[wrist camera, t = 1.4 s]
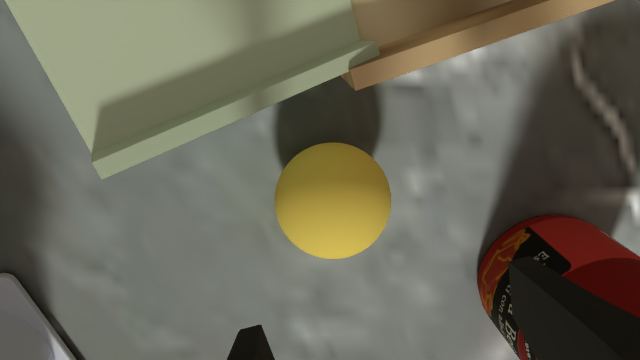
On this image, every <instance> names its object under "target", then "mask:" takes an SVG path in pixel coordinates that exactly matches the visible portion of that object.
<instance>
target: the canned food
mask: <svg viewBox="0 0 640 360" xmlns="http://www.w3.org/2000/svg"><path fill="white" fill-rule="evenodd" d="M528 256H530V257H532V258H534V259H535V260H537V261H539V262H540V263H542V264H544V265H545V266H547V267H549V268H550V269H552V270H553V271H555V272H557V273H558V274H560V275H562V276H563V277H565V278H567V279H569V280H570V281H572V282H574V283H575V284H577V285H579V286H580V287H582V288H584V289H586V290H588V291H589V292H591V293H593V294H595V295H596V296H598V297H600V298H602V299H604V300H606V301H608V302H609V303H611V304H613V305H615V306H617V307H619V308H621V309H623V310H625V311H627V312H629V313H631V314H633V315H635V316H637V317H639V318H640V257H639V256H638V255H636V254H635V253H633V252H632V251H630V250H629V249H628V248H626V247H625V246H623V245H622V244H620V243H619V242H617V241H616V240H615V239H613V238H612V237H610V236H609V235H607V234H606V233H604V232H603V231H602V230H600V229H599V228H597V227H596V226H594V225H592V224H590V223H588V222H586V221H584V220H580V219H577V218H573V217H569V216H564V215H544V216H538V217H534V218H531V219H529V220H526V221H523V222H521V223H519V224H518V225H516V226H514V227H512V228H511V229H509V230H508V231H507V232H505V233H504V234H503V235H501V236H500V237H499V238H498V239H497V240H496V241H495V242H494V244H493V245H492V246H491V247H490V249H489V250H488V252H487V253H486V255H485V257H484V259H483V261H482V263H481V265H480V269H479V273H478V289H479V294H480V297H481V301H482V305H483V307H484V309H485V311H486V313H487V315H488V316H489V317H490V319H491V320H492V322H493V323H494V324H495V326H496V327H497V328H498V330H499V331H500V333H501V334H502V335H503V337H504V338H505V339H506V341H507V342H508V343H509V345H510V346H511V348H512V349H513V350H514V352H515V353H516V354H517V356H518V357H519V359H520V360H537V358H536V357H535V355H534V354H533V352H532V351H531V349H530V348H529V346H528V344H527V342H526V341H525V339H524V337H523V335H522V333H521V332H520V330H519V328H518V326H517V324H516V322H515V320H514V318H513V316H512V305H511V291H510V278H509V264H508V261H512V260H516V259H520V258H524V257H528Z"/></svg>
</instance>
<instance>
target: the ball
mask: <svg viewBox="0 0 640 360" xmlns="http://www.w3.org/2000/svg"><path fill="white" fill-rule="evenodd" d="M390 208H391V193H390V188H389V184H388V181H387V178H386V176H385V174H384V172H383V170H382V169H381V167H380V166H379V165H378V163H377V162H376V161H375V160H374V159H373V158H372V157H371V156H370V155H368V154H367V153H366V152H364V151H362V150H360V149H359V148H357V147H354V146H351V145H348V144H344V143H336V142H333V143H322V144H317V145H314V146H311V147H309V148H307V149H305V150H303V151H302V152H300V153H299V154H297V155H296V156H295V157H294V158H293V159H292V160H291V161H290V162H289V163H288V164H287V165H286V167H285V168H284V170H283V171H282V173H281V175H280V177H279V180H278V183H277V186H276V191H275V210H276V215H277V218H278V221H279V224H280V226H281V228H282V230H283V231H284V233H285V234H286V236H287V237H288V238H289V239H290V240H291V242H292V243H294V244H295V245H296V246H297V247H298V248H300V249H301V250H303V251H305V252H306V253H309V254H311V255H313V256H317V257H320V258H326V259H339V258H345V257H349V256H353V255H355V254H357V253H359V252H361V251H363V250H365V249H366V248H367V247H369V246H370V245H371V244H372V243H373V242H374V241H375V240H376V239H377V238H378V237H379V236H380V234H381V233H382V231H383V229H384V227H385V226H386V223H387V220H388V218H389V214H390Z"/></svg>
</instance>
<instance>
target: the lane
mask: <svg viewBox="0 0 640 360" xmlns="http://www.w3.org/2000/svg"><path fill="white" fill-rule="evenodd" d="M611 1H614V0H350V2H351V6H352V10H353V13H354V17H355V21H356V25H357V29H358V33H359V36H360V40H361V41H377V43H378V47H379V52H380V55H378V56H376V57H374V58H372V59H369V60H367V61H365V62H362V63H360V64H358V65H355V66H353V67H351V68H349V72H346V73H344V74H342V75H340V76H341V77H342V78H343V79H344V80H345V81H346V82H347V83H348V84H349V85H350V86H351V87H352V88H353V89H354V90H355V91H357V90H360V89H363V88H366V87H369V86H372V85H374V84H377V83H380V82H383V81H386V80H389V79H392V78H394V77H397V76H400V75H403V74H406V73H409V72H412V71H414V70H417V69H420V68H423V67H426V66H429V65H432V64H434V63H437V62H440V61H443V60H446V59H449V58H452V57H454V56H457V55H460V54H463V53H466V52H469V51H472V50H474V49H477V48H480V47H483V46H486V45H489V44H492V43H494V42H497V41H500V40H503V39H506V38H509V37H512V36H514V35H517V34H520V33H523V32H526V31H529V30H531V29H534V28H537V27H540V26H543V25H546V24H549V23H551V22H554V21H557V20H560V19H563V18H566V17H569V16H571V15H574V14H577V13H580V12H583V11H586V10H589V9H591V8H594V7H597V6H600V5H603V4H606V3H609V2H611Z"/></svg>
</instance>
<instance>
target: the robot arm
mask: <svg viewBox="0 0 640 360" xmlns="http://www.w3.org/2000/svg"><path fill="white" fill-rule="evenodd" d="M508 264H509V278H510V291H511V305H512V316H513V318H514V320H515V322H516V324H517V326H518V328H519V330H520V332H521V333H522V335H523V337H524V339H525V341H526V342H527V344H528V346H529V348H530V349H531V351H532V352H533V354H534V355H535V357H536V358H537V360H640V318H639V317H637V316H635V315H633V314H631V313H629V312H627V311H625V310H623V309H621V308H619V307H617V306H615V305H613V304H611V303H609V302H608V301H606V300H604V299H602V298H600V297H598V296H596V295H595V294H593V293H591V292H589V291H588V290H586V289H584V288H582V287H580V286H579V285H577V284H575V283H574V282H572V281H570V280H569V279H567V278H565V277H563V276H562V275H560V274H558V273H557V272H555V271H553V270H552V269H550V268H549V267H547V266H545V265H544V264H542V263H540V262H539V261H537V260H535V259H534V258H532V257H530V256H528V257H524V258H520V259H516V260H512V261H508ZM0 360H76V358H75V357H74V356H73V354H72V353H71V352H70V350H69V349H68V348H67V346H66V345H65V344H64V342H63V341H62V339H61V338H60V337H59V335H58V334H57V333H56V331H55V330H54V329H53V327H52V326H51V325H50V323H49V322H48V320H47V319H46V318H45V316H44V315H43V314H42V312H41V311H40V310H39V308H38V307H37V306H36V304H35V303H34V301H33V300H32V299H31V297H30V296H29V295H28V293H27V292H26V291H25V289H24V288H23V287H22V285H21V284H20V283H19V281H18V280H17V278H15V277H14V276H13V275H11V274H9V273H1V274H0ZM227 360H275V359H274V357H273V354H272V351H271V349H270V346H269V344H268V341H267V339H266V336H265V334H264V331H263V328H262V326H261V325H257V326H253V327H249V328H245V329H241V330H240V331H239V332H238V334H237V337H236V339H235V342H234V344H233V346H232V349H231V351H230V354H229V356H228V358H227Z"/></svg>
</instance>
